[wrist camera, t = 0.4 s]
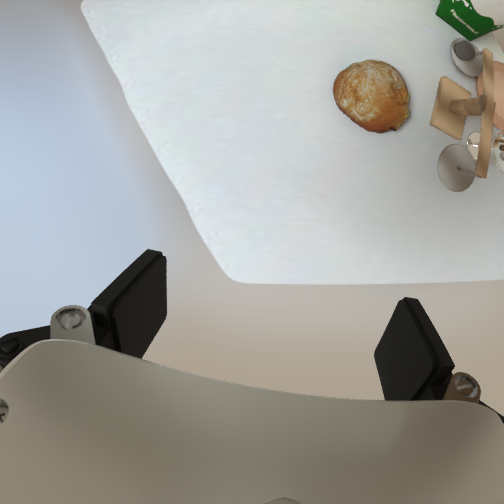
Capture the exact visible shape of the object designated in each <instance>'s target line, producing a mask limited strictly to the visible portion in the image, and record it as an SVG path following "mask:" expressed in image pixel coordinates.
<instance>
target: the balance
mask: <svg viewBox="0 0 504 504" xmlns="http://www.w3.org/2000/svg"><path fill="white" fill-rule="evenodd" d="M482 54H483V59H482V56H481V55H482ZM451 55H452V58H453V60H454V62H455V64H456V66H457V67H458V68H459V69H460V70H461V71H462V72H463V73H464V74H466V75H468V76H472V77H475V76H479V75H480V74H481V73H482V71H483V95H480V98H470V95H471V93H470V92H469V91H467V90H466V89H464V88H463V87H461V86H460V85H458V84H457V83H455V82H454V81H452V80H450V79H449V78H447V77H445V76H444V77H441V78H440V82H439V87H438V92H437V96H436V101H435V105H434V109H433V113H432V117H431V121H430V125H432V126H434V127H435V128H437V129H439V130H441V131H443V132H444V133H446V134H448V135H450V136H451V137H453V138H455V139H459V140H461V136H462V132H463V128H464V124H465V119H466V115H482V122H481V133H480V142H479V149H478V156H477V163H476V168H475V161H474V158H473V156H472V154H471V152H470V151H469V150H468V149H467V148H466V147H464V146H462V145H458V144H452V145H449V146H447V147H446V148H445V149H444V150H443V151H442V153H441V154H440V157H439V160H438V174H439V177H440V180H441V181H442V183H443V184H444V186H445V187H447V188H448V189H450V190H452V191H455V192H461V191H464V190H466V189H467V188H468V187H469V186H470V185H471V184H472V182H473V180H474V177H475V176H477V177H481V178H486V176H487V170H488V164H489V157H490V149H491V140H492V129H493V116H494V111H495V105H496V103H495V102H494V70H493V54H492V52H491V51H489V50H488V49H487V48H485V49H483V50H482V51H481V52H479V50H478V49H477V48H476V46H475V45H474V44H473V43H471V42H470V41H468V40H467V39H464V38H458V39H456V40H454V41H453V42H452V44H451Z"/></svg>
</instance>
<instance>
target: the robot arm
mask: <svg viewBox="0 0 504 504" xmlns="http://www.w3.org/2000/svg"><path fill="white" fill-rule="evenodd" d="M166 262H167V261H166V257H165V256H163V254H162V252H160V251H155V250H150V249H147V250H146V251H145V252H144V253H143V254H142V255H141V256H140V257H138V258H137V259H136V260H135V261H134V262H133V263H132V264H131V265H130V266H129V267H128V268H127V269H125V270H124V271H123V272H122V273H121V274H120V275H119V276H118V277H117V278H116V279H115V280H114V281H113V282H112V283H111V284H110V285H109V286H108V287H107V288H106V289H105V290H104V291H103V292H102V293H101V294H100V295H99V296H98V297H97V298H96V299H95V300H94V301H93V302H92V303H91V305H90V306H89V308H88V309H86V308H84V307H81V306H77V305H69V306H65V307H62V308H60V309H58V310H57V311H56V312H55V313H54V314H53V315H52V317H51V322H50V323H51V324H50V325H49V326H44V327H39V328H34V329H29V330H24V331H18V332H13V333H9V334H6V335H4V336H3V337H1V338H0V504H504V417H503V416H502V415H500V414H499V413H498V412H496V411H495V410H493V409H492V408H490V407H489V406H487V405H486V404H484V403H483V402H481V401H480V400H479V399H480V394H481V390H480V386H479V384H478V382H477V381H476V380H475V379H474V378H473V377H471V376H470V375H469V374H466V373H463V372H457V373H455V374H454V375H453V374H452V372H451V371H452V370H453V369H454V367H455V365H454V363H453V361H452V359H451V357H450V355H449V353H448V351H447V349H446V347H445V346H444V344H443V342H442V340H441V338H440V336H439V334H438V333H437V331H436V329H435V327H434V325H433V324H432V322H431V320H430V319H429V317H428V315H427V314H426V312H425V310H424V308H423V307H422V305H421V303H420V302H419V300H418V299H414V298H408V297H405V298H404V299H402V300H400V301H399V302H398V304H397V306H396V308H395V310H394V313H393V315H392V317H391V319H390V321H389V323H388V325H387V327H386V330H385V332H384V334H383V336H382V338H381V340H380V342H379V344H378V346H377V348H376V350H375V353H374V357H375V362H376V366H377V369H378V373H379V377H380V381H381V385H382V390H383V394H384V398H385V400H362V399H347V398H335V397H324V396H314V395H306V394H297V393H290V392H283V391H276V390H270V389H264V388H258V387H252V386H247V385H242V384H237V383H232V382H227V381H222V380H218V379H214V378H209V377H205V376H201V375H196V374H192V373H189V372H185V371H181V370H177V369H174V368H170V367H166V366H163V365H160V364H156V363H153V362H150V361H146V360H143V359H142V357H143V355H144V354H145V352H146V350H147V349H148V347H149V345H150V344H151V342H152V341H153V339H154V337H155V336H156V334H157V332H158V331H159V329H160V327H161V325H162V324H163V322H164V320H165V319H166V315H167V290H166V289H167V288H166V286H167V285H166Z"/></svg>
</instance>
